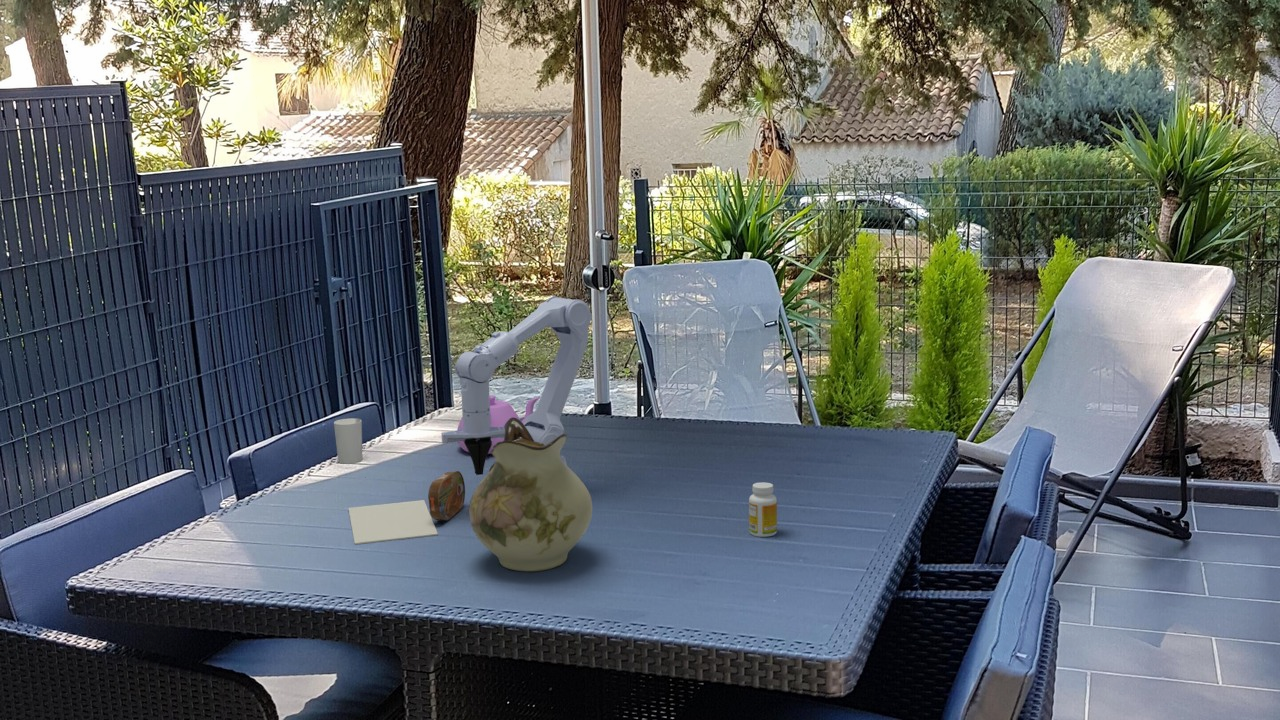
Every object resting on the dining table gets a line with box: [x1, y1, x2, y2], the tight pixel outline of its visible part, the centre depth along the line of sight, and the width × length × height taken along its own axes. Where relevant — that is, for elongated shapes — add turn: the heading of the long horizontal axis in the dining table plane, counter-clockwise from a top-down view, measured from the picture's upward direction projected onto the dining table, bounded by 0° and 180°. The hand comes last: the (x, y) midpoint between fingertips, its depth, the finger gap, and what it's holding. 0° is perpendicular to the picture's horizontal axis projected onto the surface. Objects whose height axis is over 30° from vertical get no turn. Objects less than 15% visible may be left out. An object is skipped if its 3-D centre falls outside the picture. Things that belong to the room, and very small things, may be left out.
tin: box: [427, 470, 466, 521], centre depth 241 cm, size 15×3×8 cm, turn 169°
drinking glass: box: [333, 417, 363, 465], centre depth 286 cm, size 7×7×10 cm
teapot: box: [456, 394, 541, 455], centre depth 294 cm, size 22×22×14 cm
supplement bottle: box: [748, 481, 778, 538], centre depth 226 cm, size 5×5×10 cm
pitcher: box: [468, 417, 593, 572], centre depth 212 cm, size 22×24×25 cm
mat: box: [348, 499, 439, 545], centre depth 238 cm, size 16×24×1 cm, turn 17°
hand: (479, 473), depth 242 cm, fingers closed
